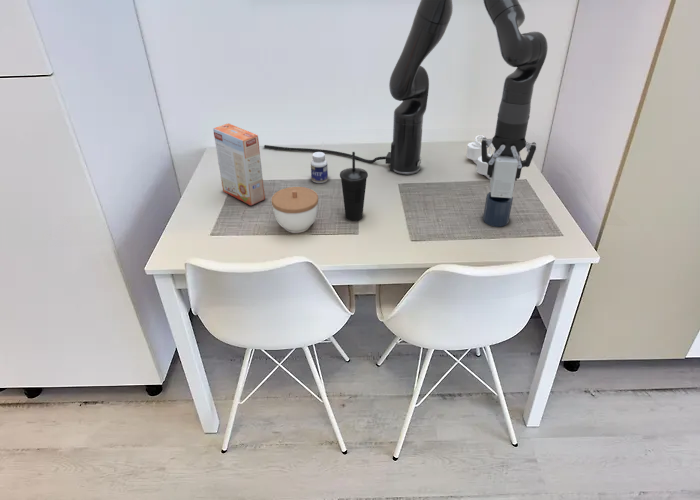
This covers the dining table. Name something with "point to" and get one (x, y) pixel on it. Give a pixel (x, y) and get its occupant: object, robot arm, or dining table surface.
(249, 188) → the cracker box
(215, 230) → the dining table surface
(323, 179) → the pill bottle
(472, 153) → the skeletal toy car
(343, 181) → the drinking cup
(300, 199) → the lidded bowl
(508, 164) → the small box
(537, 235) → the dining table surface
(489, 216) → the coffee cup
